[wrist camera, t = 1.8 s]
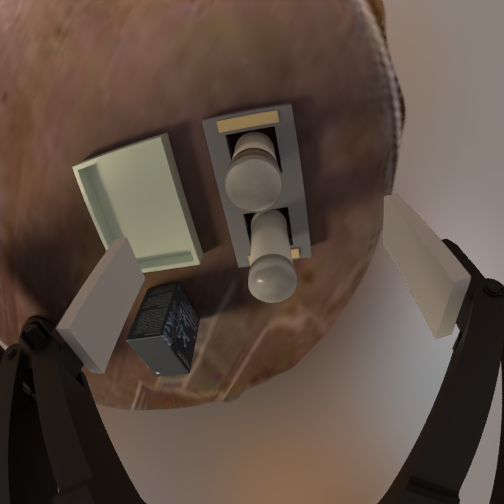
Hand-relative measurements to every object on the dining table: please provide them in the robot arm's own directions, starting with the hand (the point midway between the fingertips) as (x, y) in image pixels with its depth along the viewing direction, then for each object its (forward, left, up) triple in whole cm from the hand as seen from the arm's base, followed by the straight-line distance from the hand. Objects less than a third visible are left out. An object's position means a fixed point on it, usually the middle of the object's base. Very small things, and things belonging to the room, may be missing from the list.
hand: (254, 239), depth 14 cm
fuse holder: (0, -5, -20) cm, 20 cm away
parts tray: (-15, -4, -20) cm, 25 cm away
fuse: (0, -9, -20) cm, 22 cm away
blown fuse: (0, 0, -20) cm, 20 cm away
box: (-16, -20, -20) cm, 33 cm away
